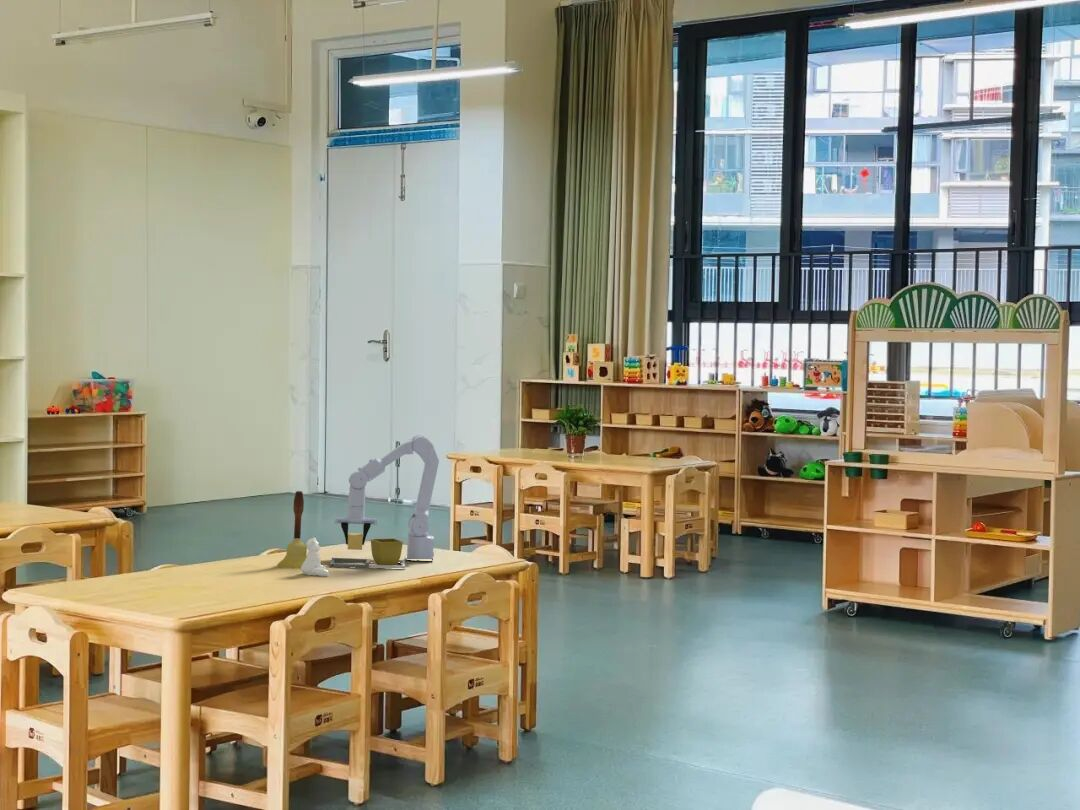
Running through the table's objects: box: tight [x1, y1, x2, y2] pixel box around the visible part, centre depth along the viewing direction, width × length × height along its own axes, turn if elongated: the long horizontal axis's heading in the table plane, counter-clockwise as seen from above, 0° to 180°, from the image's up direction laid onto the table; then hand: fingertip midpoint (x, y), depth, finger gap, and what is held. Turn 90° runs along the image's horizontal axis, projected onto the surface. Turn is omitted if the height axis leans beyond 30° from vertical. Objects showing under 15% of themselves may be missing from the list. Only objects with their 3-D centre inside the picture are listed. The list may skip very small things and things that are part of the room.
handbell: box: [277, 490, 308, 569], centre depth 442 cm, size 12×12×25 cm
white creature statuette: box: [300, 537, 330, 577], centre depth 426 cm, size 10×9×12 cm
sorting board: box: [329, 557, 406, 569], centre depth 449 cm, size 25×13×1 cm, turn 96°
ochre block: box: [347, 532, 363, 551], centre depth 461 cm, size 5×5×5 cm
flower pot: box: [370, 537, 404, 566], centre depth 449 cm, size 9×9×9 cm
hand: (355, 544), depth 461 cm, fingers closed on ochre block, 5 cm apart
